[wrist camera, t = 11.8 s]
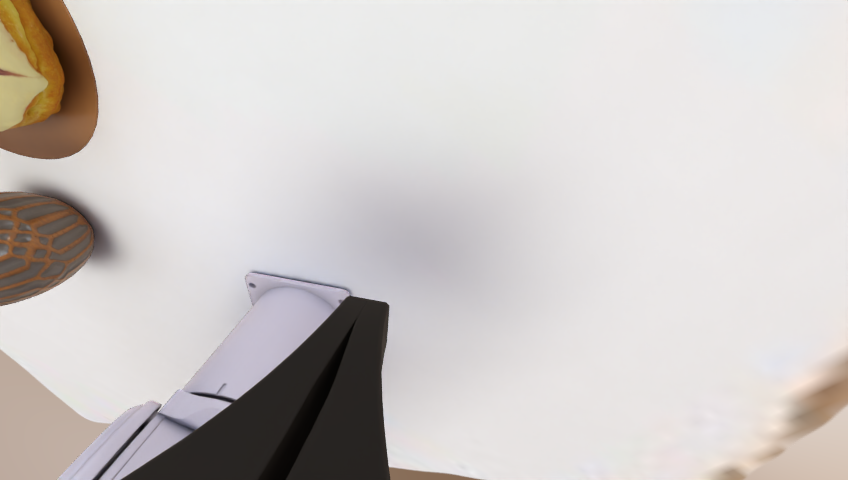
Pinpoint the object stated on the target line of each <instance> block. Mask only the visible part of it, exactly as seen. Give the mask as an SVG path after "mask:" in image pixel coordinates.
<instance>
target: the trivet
mask: <svg viewBox="0 0 848 480" xmlns="http://www.w3.org/2000/svg"><path fill="white" fill-rule="evenodd" d="M30 2H31V5H32V9H33V11H34V13H35V14H36V16H37V17H38V19H39V20H40V22H41V24H42V25H43V27H44V28H45V29H46V30H47V31H48V33H49V34H50V35H51V37H52V40H53V50H54V52H55V53H56V55H57V57H58V59H59V62H60V64H61V66H62V69H63V72H64V78H65V82H64V85H63V87H64V92H63V95H62V99H61V101H60V105H61V108H60V111H59V112H57V113H55V114H52V115H50V116H49V117H48V118H47V119H46V120H45V121H42V122H37V123H34V124H31V125H27V126H21V127H17V128H12V129H8V130H5V131H0V148H2V149H4V150H7V151H10V152H13V153H16V154H19V155H23V156H28V157H32V158H40V159H59V158H63V157H67V156H71V155H73V154H75V153H77V152H79V151H80V150H81V149H82V148H83V147H85V146H86V145H87V143H88V142H89V140H90V139H91V137H92V136H93V133H94V130H95V128H96V125H97V118H98V94H97V88H96V81H95V77H94V73H93V70H92V66H91V62H90V59H89V56H88V54H87V51H86V48H85V46H84V43H83V40H82V38H81V36H80V34H79V31H78V29H77V27H76V25H75V23H74V21H73V19H72V17H71V15H70V13H69V11H68V9H67V7H66V6H65V4H64V2H63V0H30Z"/></svg>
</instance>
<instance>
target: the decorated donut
mask: <svg viewBox="0 0 848 480" xmlns="http://www.w3.org/2000/svg"><path fill="white" fill-rule="evenodd" d="M64 82H65V78H64V72H63V69H62V66H61V64H60V62H59V59H58V57H57V55H56V53H55V52H54V50H53V40H52V37H51V35H50V34H49V33H48V31H47V30H46V29H45V28H44V27H43V25H42V24H41V22H40V20H39V19H38V17H37V16H36V14H35V13H34V11H33V9H32V5H31V2H30V0H0V131H5V130H8V129H12V128H17V127H21V126H27V125H31V124H34V123H37V122H42V121H45V120H46V119H47V118H48V117H49V116H50V115H52V114H55V113H57V112H59V111H60V108H61V105H60V101H61V99H62V95H63V92H64V87H63V85H64Z"/></svg>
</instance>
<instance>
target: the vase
mask: <svg viewBox="0 0 848 480" xmlns="http://www.w3.org/2000/svg"><path fill="white" fill-rule="evenodd" d="M93 247H94V232H93V230H92V228H91V226H90V224H89V223H88V221H87V220H86V219H85V218H84V217H83V216H82V215H81V214H80V213H79V212H78V211H76V210H75V209H74V208H72V207H71V206H69V205H68V204H66V203H64V202H62V201H60V200H57V199H54V198H50V197H47V196H42V195H38V194H33V193H25V192H0V306H3V305H8V304H12V303H16V302H19V301H23V300H26V299H29V298H31V297H34V296H37V295H39V294H42V293H44V292H46V291H48V290H50V289H52V288H54V287H56V286H58V285H59V284H61V283H63V282H64V281H66V280H67V279H69V278H70V277H72V276H73V275H74V274H75V273H76V272H77V271H79V270H80V269H81V268H82V267H83V265H84V264H85V263H86V262H87V260H88V259H89V258H90V256H91V253H92V250H93Z"/></svg>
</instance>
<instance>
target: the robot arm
mask: <svg viewBox="0 0 848 480" xmlns="http://www.w3.org/2000/svg"><path fill="white" fill-rule="evenodd" d="M245 280H246V284H247V287H248V291H249V294H250V298H251V302H252V305H253V307H252V308H251V309H250V310H249V311H248V313H247V314H246V315H245V316H244V317H243V318H242V320H241V321H240V322H239V323H238V324H237V325H236V327H235V328H234V329H233V330H232V331H231V333H230V334H229V335H228V336H227V337H226V338H225V340H224V341H223V342H222V343H221V344H220V346H219V347H218V348H217V349H216V350H215V351H214V353H213V354H212V355H211V356H210V357H209V358H208V360H207V361H206V362H205V363H204V364H203V366H202V367H201V368H200V369H199V370H198V371H197V373H196V374H195V375H194V376H193V377H192V378H191V380H190V381H189V382H188V383H187V384H186V386H185V387H184V388H183V389H182V390H181V389H179V390H177V391H176V392H175V394H174V395H173V396H172V397H171V398H170V399H169V401H168V402H167V403H166V404H165V405H164V406H163V408H162V409H161V410H160V411H159V412H157V411H158V410H159V409H160V407H161V404H159V403H157V402H155V401H148V402H147V403H145V404H144V405H139V406H135V407H132V408H130V409H128V410H127V411H125V412H124V413H123V414H122V415H121V416H119V417H118V418H117V419H116V420H115V421H114V422H113V423H112V424H111V425H110V426H109V427H107V428H106V429H105V430H104V431H103V433H101V435H100V436H98V437H97V438H96V439H95V440H94V441H93V442H92V443H91V444H90V445H89V446H88V447H87V448H86V449H85V450H84V452H83V453H82V454H81V455H80V456H79V457H78V458H77V459H76V460H75V461H74V462H73V463H72V464H71V465H70V466H69V467H68V468H67V469H66V470H65V471H64V473H63V474H62V475H61V476H60V477H59V478H58V479H57V480H390V474H389V466H388V458H387V449H386V440H385V429H384V418H383V403H382V378H381V371H382V364H383V358H384V353H385V348H386V343H387V332H388V317H389V305H388V304H387V303H385V302H380V301H375V300H369V299H364V298H358V297H353V296H350V294H349V292H348V291H346V290H344V289H339V288H334V287H328V286H323V285H317V284H312V283H307V282H301V281H296V280H290V279H285V278H279V277H274V276H268V275H263V274H257V273H248V274H247V275H246V277H245ZM342 300H343V301H342Z"/></svg>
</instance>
